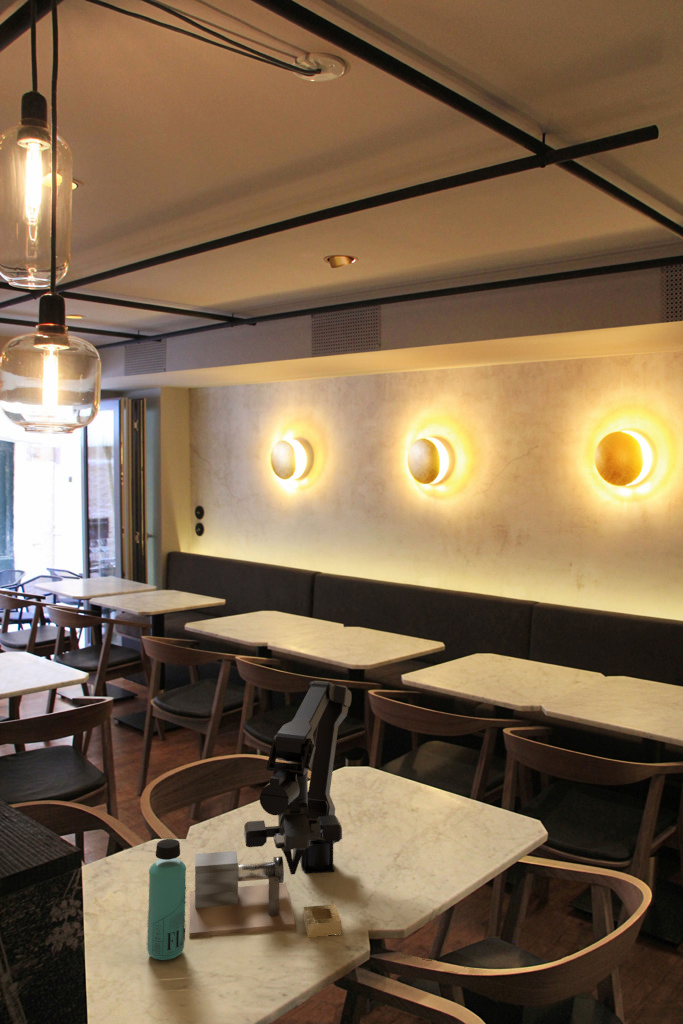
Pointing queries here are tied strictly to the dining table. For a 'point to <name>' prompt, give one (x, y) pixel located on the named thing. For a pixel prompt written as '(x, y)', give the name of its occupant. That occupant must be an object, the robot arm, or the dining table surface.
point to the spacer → (322, 920)
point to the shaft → (262, 870)
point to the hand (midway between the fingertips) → (292, 873)
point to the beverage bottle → (166, 902)
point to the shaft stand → (234, 900)
